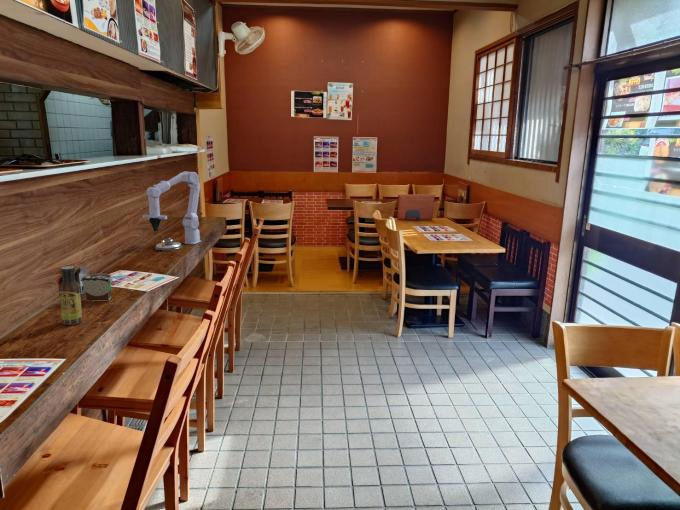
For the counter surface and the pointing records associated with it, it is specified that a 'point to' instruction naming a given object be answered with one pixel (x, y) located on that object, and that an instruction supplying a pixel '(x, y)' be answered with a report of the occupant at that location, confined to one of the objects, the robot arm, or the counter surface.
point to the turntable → (163, 246)
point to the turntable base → (168, 249)
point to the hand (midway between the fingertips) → (155, 231)
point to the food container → (97, 286)
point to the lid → (168, 241)
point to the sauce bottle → (70, 297)
